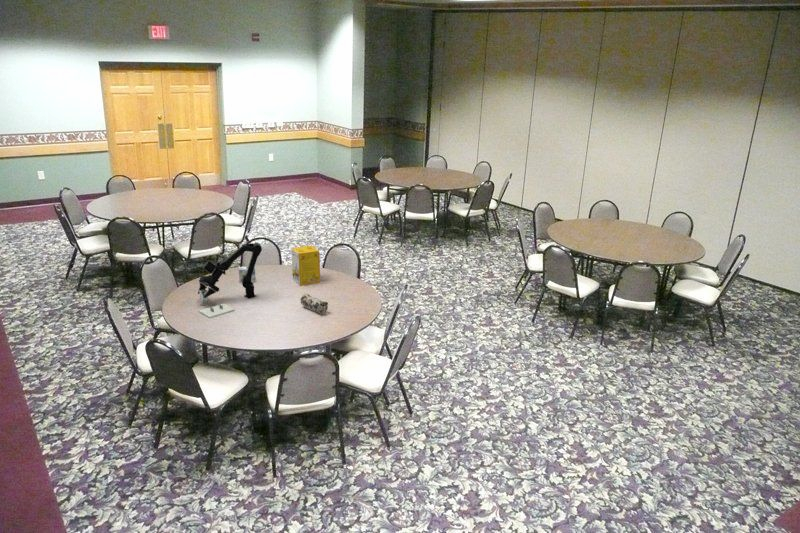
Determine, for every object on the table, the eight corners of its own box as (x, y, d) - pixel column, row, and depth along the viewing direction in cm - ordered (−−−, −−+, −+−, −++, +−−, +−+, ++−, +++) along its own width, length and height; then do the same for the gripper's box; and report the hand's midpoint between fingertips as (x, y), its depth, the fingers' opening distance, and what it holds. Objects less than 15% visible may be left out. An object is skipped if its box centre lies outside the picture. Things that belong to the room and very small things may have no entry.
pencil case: (329, 312, 387) (329, 299, 384) (319, 316, 381) (318, 302, 378) (309, 303, 401) (308, 290, 398) (299, 306, 395) (298, 293, 392)
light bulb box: (256, 280, 442) (255, 266, 439) (253, 283, 436) (252, 269, 433) (242, 279, 443) (241, 266, 440) (239, 282, 437) (238, 268, 433)
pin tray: (234, 310, 387) (234, 305, 386) (209, 318, 375) (209, 313, 374) (223, 304, 396) (223, 300, 395) (199, 312, 384) (198, 307, 383)
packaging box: (292, 279, 446) (291, 247, 438) (312, 275, 453) (311, 245, 445) (299, 285, 432) (298, 253, 424) (320, 282, 440) (319, 251, 431)
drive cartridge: (208, 304, 397) (207, 290, 394) (203, 305, 394) (201, 291, 391) (205, 302, 399) (204, 289, 396) (200, 304, 397) (199, 290, 393)
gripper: (200, 267, 398) (186, 286, 394) (213, 274, 386) (199, 293, 382) (211, 275, 406) (198, 294, 402) (225, 282, 394) (211, 301, 390)
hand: (201, 295), depth 394 cm, fingers open, 9 cm apart
